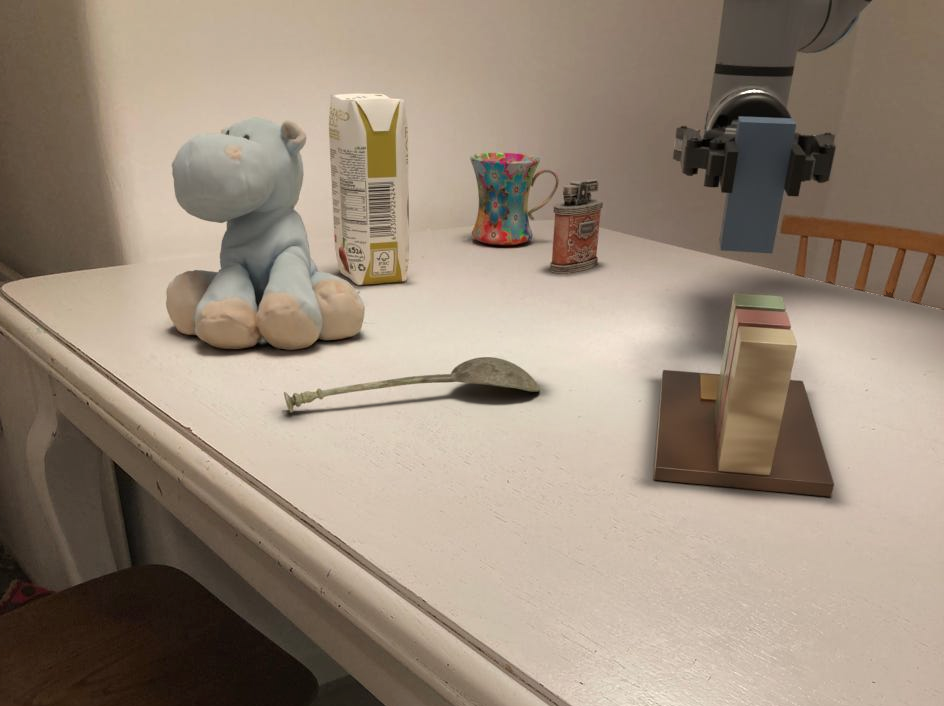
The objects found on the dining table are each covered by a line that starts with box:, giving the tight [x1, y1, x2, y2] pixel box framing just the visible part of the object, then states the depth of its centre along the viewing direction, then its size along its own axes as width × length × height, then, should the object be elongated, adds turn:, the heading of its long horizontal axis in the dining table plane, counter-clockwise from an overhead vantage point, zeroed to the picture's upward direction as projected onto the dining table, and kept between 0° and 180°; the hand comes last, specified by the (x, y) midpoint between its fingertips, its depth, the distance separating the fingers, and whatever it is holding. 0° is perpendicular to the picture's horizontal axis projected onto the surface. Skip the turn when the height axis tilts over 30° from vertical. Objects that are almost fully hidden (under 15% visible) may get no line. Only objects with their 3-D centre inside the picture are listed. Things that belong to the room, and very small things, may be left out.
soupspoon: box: [283, 356, 541, 414], centre depth 80 cm, size 22×3×7 cm
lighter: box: [549, 178, 604, 274], centre depth 119 cm, size 8×3×10 cm, turn 137°
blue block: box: [718, 116, 797, 254], centre depth 74 cm, size 4×4×9 cm
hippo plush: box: [165, 116, 366, 351], centre depth 92 cm, size 18×23×18 cm
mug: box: [469, 152, 560, 246], centre depth 131 cm, size 12×9×11 cm
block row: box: [653, 293, 835, 498], centre depth 73 cm, size 12×22×10 cm, turn 169°
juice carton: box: [328, 93, 410, 286], centre depth 110 cm, size 8×9×19 cm
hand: (763, 174), depth 69 cm, fingers closed on blue block, 4 cm apart
